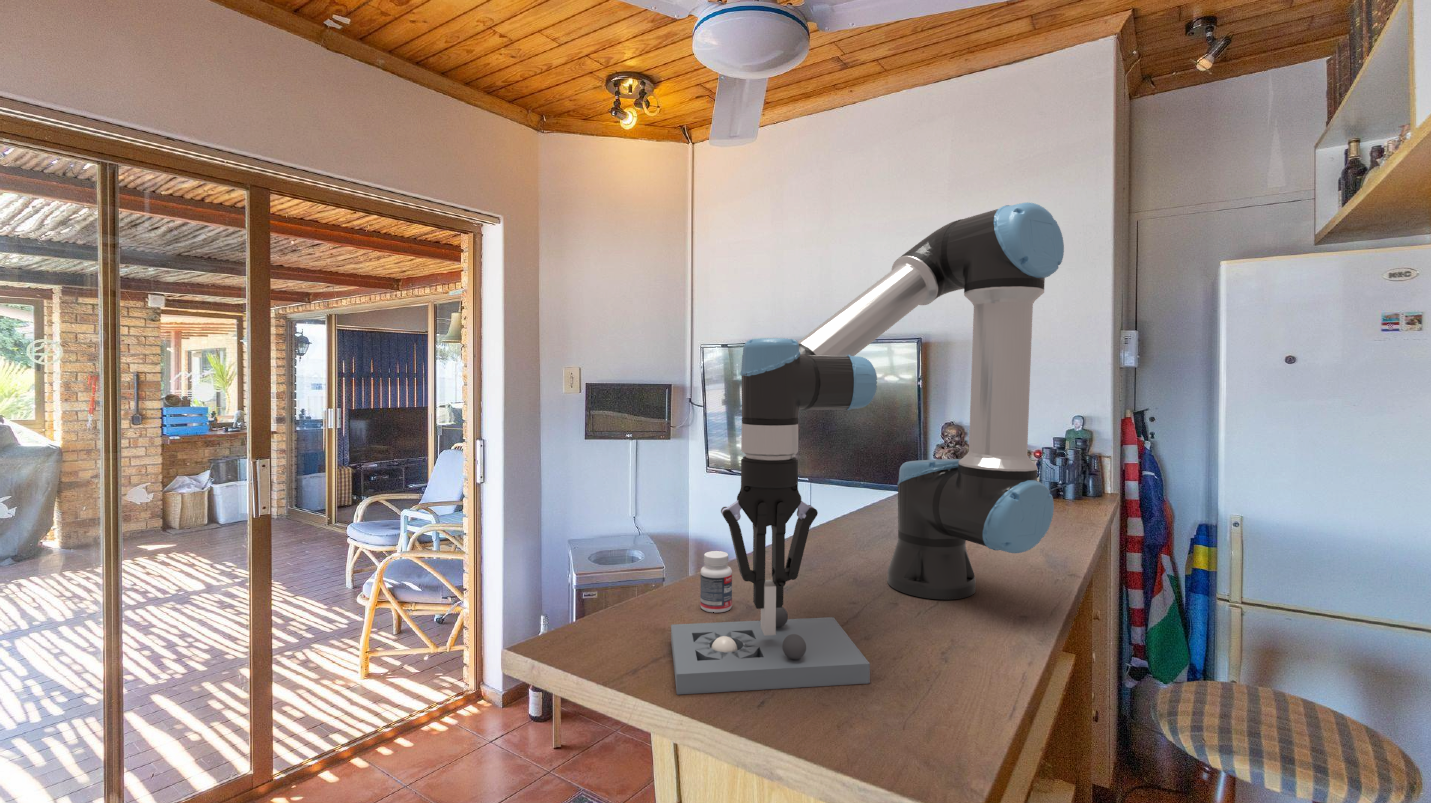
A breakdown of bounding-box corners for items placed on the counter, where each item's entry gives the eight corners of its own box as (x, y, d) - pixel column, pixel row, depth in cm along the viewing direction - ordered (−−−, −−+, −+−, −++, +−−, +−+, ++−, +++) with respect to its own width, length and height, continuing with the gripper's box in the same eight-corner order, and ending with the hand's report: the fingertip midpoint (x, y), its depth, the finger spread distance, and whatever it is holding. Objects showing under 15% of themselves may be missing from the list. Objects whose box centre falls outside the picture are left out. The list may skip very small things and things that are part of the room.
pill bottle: (728, 614, 100) (728, 560, 100) (697, 612, 101) (697, 558, 101) (734, 602, 105) (734, 550, 105) (704, 600, 106) (704, 549, 106)
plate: (833, 633, 93) (833, 617, 93) (869, 683, 78) (869, 663, 78) (671, 641, 90) (671, 624, 90) (676, 694, 75) (676, 674, 75)
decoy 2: (802, 652, 81) (802, 629, 81) (808, 663, 78) (809, 639, 78) (779, 653, 81) (780, 630, 80) (785, 664, 78) (785, 640, 77)
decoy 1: (785, 622, 91) (785, 601, 91) (790, 630, 88) (790, 609, 88) (764, 623, 90) (765, 602, 90) (769, 631, 87) (769, 610, 87)
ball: (730, 628, 85) (706, 636, 85) (734, 639, 81) (709, 649, 81) (738, 651, 85) (714, 660, 85) (742, 664, 82) (717, 673, 81)
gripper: (809, 451, 87) (808, 618, 88) (717, 452, 86) (716, 622, 87) (825, 458, 80) (823, 640, 81) (724, 460, 78) (723, 645, 79)
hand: (768, 631), depth 84 cm, fingers closed
